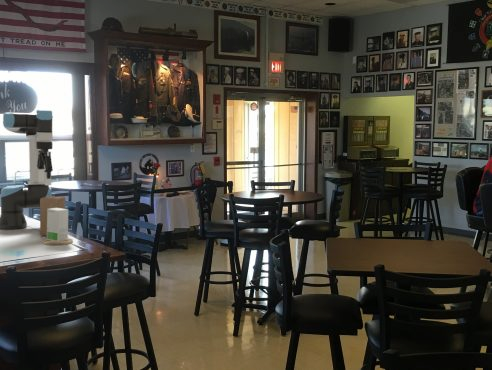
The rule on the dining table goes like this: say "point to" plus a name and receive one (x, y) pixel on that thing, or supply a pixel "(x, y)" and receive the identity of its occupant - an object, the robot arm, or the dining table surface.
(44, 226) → the wooden block
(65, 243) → the cork trivet
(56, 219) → the skincare box
